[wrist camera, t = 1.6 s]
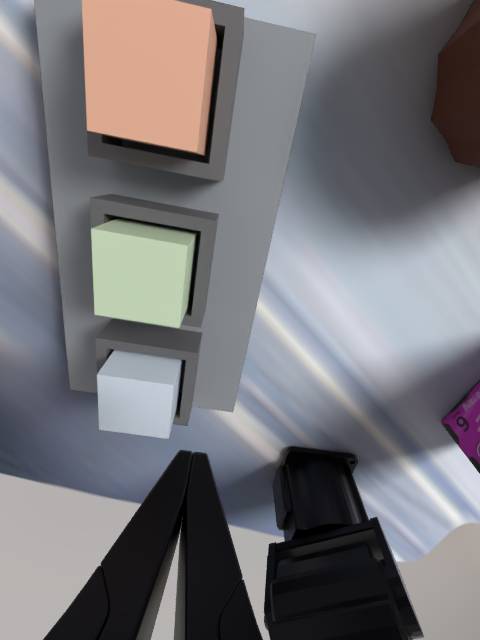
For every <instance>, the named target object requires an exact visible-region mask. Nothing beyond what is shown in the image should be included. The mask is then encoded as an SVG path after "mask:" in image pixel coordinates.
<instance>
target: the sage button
mask: <svg viewBox="0 0 480 640" xmlns="http://www.w3.org/2000/svg"><path fill="white" fill-rule="evenodd" d="M196 238H197V233H196V232H191V231H185V230H180V229H174V228H169V227H163V226H158V225H152V224H147V223H141V222H136V221H130V220H125V219H119V218H117V219H115V220H112V221H109V222H107V223H104V224H102V225H99V226H96V227H94V228H91V239H92V264H93V288H94V313H95V315H100V316H106V317H112V318H119V319H125V320H131V321H138V322H144V323H151V324H157V325H163V326H170V327H176V328H180V325H181V323H182V320H183V318H184V315H185V313H186V310H187V308H188V305H189V301H190V292H191V283H192V274H193V265H194V256H195V247H196Z"/></svg>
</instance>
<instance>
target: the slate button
mask: <svg viewBox="0 0 480 640" xmlns="http://www.w3.org/2000/svg"><path fill="white" fill-rule="evenodd" d="M182 363H183V360H181V359H174V358H167V357H161V356H154V355H147V354H140V353H134V352H127V351H120V350H114V351H113V353H112V354H111V355H110V357H109V358H108V360H107V361H106V362H105V364H104V365H103V367H102V368H101V369H100V371H99V372H98V374H97V386H98V411H99V430H105V431H113V432H120V433H128V434H136V435H144V436H151V437H159V438H167V439H168V438H169V435H170V431H171V427H172V424H173V420H174V416H175V413H176V409H177V405H178V399H179V390H180V381H181V372H182Z"/></svg>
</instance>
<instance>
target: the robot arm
mask: <svg viewBox="0 0 480 640" xmlns="http://www.w3.org/2000/svg"><path fill="white" fill-rule="evenodd" d="M357 463H358V460H357V458H356V456H355V455H350V454H342V453H335V452H327V451H320V450H312V449H304V448H297V447H290V448H288V450H287V452H286V455H285V457H284V460H283V463H282V465H281V466H280V467H279V468H278V470H277V473H276V476H275V479H274V482H273V493H274V502H275V512H276V522H277V527H278V529H279V530H284V539H285V542H281V543H276V542H275V543H271V544H269V550H268V551H269V552H268V556H267V571H266V572H267V573H266V587H265V602H264V603H265V604H264V614H265V616H264V623H265V627H266V629H267V630H268V631H269V635H270V640H413V639H416V638H422V637H424V635H423V632H422V629H421V626H420V624H419V621H418V618H417V616H416V613H415V610H414V608H413V605H412V602H411V600H410V597H409V594H408V592H407V589H406V586H405V584H404V581H403V579H402V576H401V573H400V571H399V568H398V566H397V564H396V561H395V558H394V556H393V553H392V551H391V548H390V546H389V544H388V541H387V539H386V537H385V534H384V532H383V530H382V527H381V525H380V523H379V520H378V518H377V517H374V518H370V520H369V519H368V516H367V513H366V510H365V508H364V505H363V502H362V499H361V497H360V494H359V491H358V488H357V486H356V483H355V480H354V477H353V475H352V473H353V471H354V469H355V467H356V465H357ZM181 524H182V525H181ZM180 529H181V533H180ZM179 534H180V544H179V561H178V579H177V594H176V595H177V596H176V612H175V628H174V640H263V639H262V636H261V633H260V631H259V628H258V625H257V622H256V619H255V616H254V613H253V609H252V606H251V603H250V600H249V597H248V593H247V590H246V586H245V583H244V580H242V573H241V569H240V566H239V562H238V559H237V555H236V552H235V548H234V545H233V541H232V538H231V535H230V531H229V528H228V524H227V521H226V517H225V514H224V510H223V507H222V503H221V500H220V496H219V493H218V489H217V486H216V482H215V479H214V475H213V472H212V468H211V465H210V461H209V458H208V455H207V454H206V453H202V452H194V453H192V452H191V451H186V450H180V451H179V452H178V453H177V454H176V456H175V457H174V458H173V460H172V461H171V463H170V464H169V466H168V467H167V468H166V470H165V471H164V473H163V474H162V476H161V477H160V479H159V480H158V481H157V483H156V484H155V486H154V487H153V489H152V490H151V491H150V493H149V494H148V496H147V497H146V499H145V500H144V502H143V503H142V504H141V506H140V507H139V509H138V510H137V512H136V513H135V514H134V516H133V517H132V519H131V521H130V522H129V523H128V525H127V526H126V527H125V529H124V530H123V532H122V533H121V535H120V536H119V537H118V539H117V540H116V542H115V543H114V545H113V546H112V547H111V549H110V550H109V552H108V553H107V555H106V556H105V558H104V559H103V561H102V562H101V566H98V567H97V569H96V570H95V572H94V573H93V574H92V576H91V577H90V579H89V580H88V582H87V583H86V584H85V586H84V587H83V589H82V590H81V591H80V593H79V594H78V595H77V597H76V598H75V599H74V601H73V602H72V604H71V605H70V606H69V608H68V609H67V610H66V612H65V613H64V614H63V615H62V617H61V618H60V619H59V620H58V622H57V623H56V624H55V625H54V627H53V628H52V629H51V630H50V632H49V633H48V634H47V635H46V637H45V638H44V639H43V640H150V639H151V636H152V632H153V629H154V625H155V621H156V618H157V614H158V611H159V607H160V603H161V600H162V596H163V592H164V589H165V585H166V582H167V578H168V574H169V571H170V567H171V563H172V560H173V556H174V553H175V549H176V545H177V542H178V538H179Z"/></svg>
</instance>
